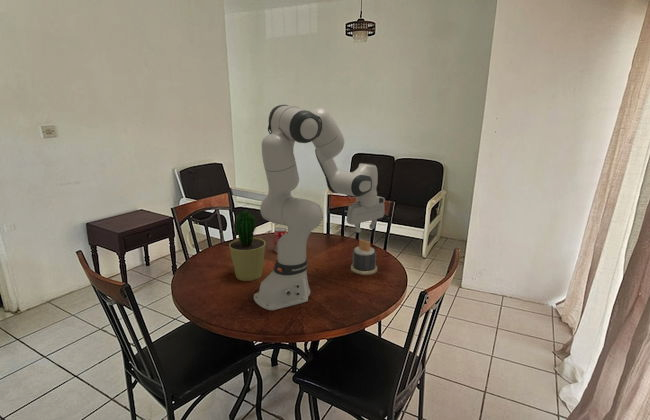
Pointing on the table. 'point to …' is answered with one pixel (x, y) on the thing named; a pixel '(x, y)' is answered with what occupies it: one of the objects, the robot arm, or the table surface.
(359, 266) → the cylinder
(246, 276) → the potted cactus
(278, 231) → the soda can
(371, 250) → the cap
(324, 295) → the table surface
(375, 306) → the table surface
